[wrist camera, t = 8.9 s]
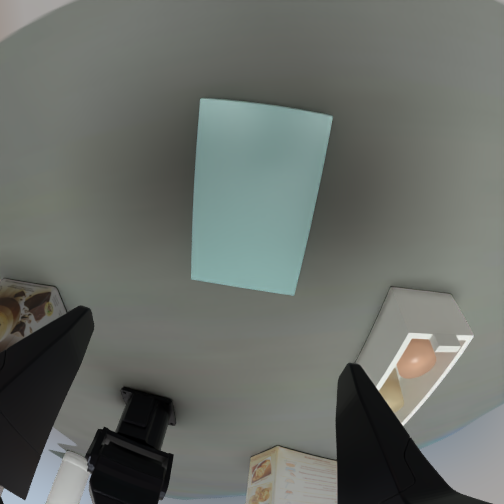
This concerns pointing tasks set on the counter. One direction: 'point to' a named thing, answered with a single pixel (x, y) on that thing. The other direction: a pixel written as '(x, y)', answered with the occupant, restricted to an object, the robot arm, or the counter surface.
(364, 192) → the counter surface
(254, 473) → the coffeecake box
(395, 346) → the tub
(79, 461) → the bottle
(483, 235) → the counter surface
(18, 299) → the coffee box
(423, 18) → the counter surface
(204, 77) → the counter surface
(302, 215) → the lid
